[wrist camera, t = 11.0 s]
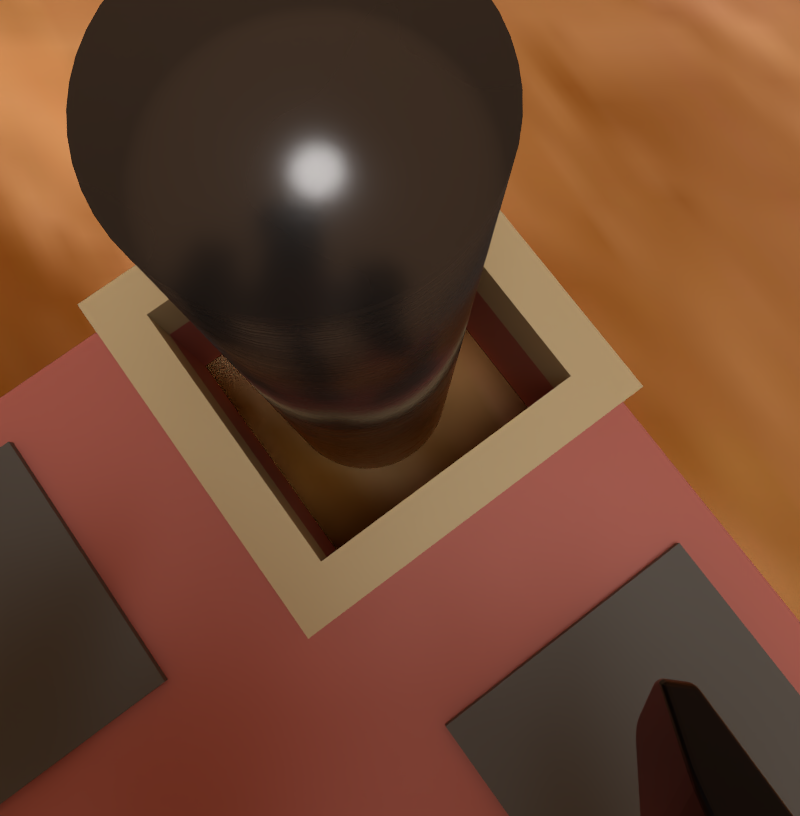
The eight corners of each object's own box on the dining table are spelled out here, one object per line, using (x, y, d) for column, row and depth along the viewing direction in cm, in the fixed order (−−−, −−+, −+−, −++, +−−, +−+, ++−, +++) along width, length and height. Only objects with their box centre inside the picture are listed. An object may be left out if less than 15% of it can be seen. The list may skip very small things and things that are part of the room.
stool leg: (301, 480, 19) (92, 357, 6) (277, 329, 20) (45, -62, 7) (458, 453, 19) (565, 275, 6) (429, 303, 20) (475, -130, 7)
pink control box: (221, 1298, 16) (151, 1585, 12) (-190, 594, 19) (-376, 610, 14) (857, 760, 18) (1006, 833, 13) (400, 185, 20) (399, 86, 16)
